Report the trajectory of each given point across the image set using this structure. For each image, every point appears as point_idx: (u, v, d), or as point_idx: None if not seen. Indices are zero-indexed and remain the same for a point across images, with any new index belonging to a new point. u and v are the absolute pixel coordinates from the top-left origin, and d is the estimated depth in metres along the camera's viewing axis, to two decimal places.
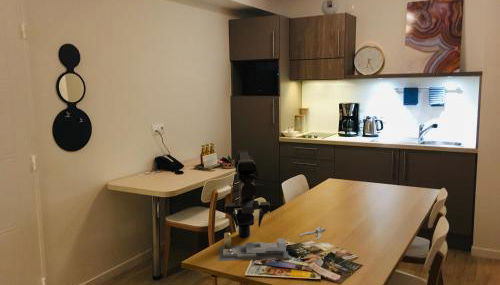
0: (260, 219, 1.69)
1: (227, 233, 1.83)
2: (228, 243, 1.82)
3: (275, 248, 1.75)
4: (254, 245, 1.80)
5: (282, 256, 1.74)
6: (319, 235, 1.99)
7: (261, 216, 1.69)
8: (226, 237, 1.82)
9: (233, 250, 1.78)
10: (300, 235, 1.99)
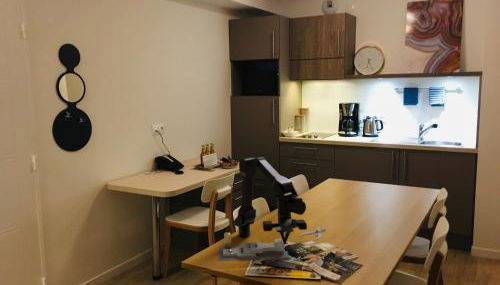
0: (286, 237, 1.76)
1: (227, 233, 1.83)
2: (228, 242, 1.82)
3: (272, 248, 1.75)
4: (251, 245, 1.79)
5: (282, 256, 1.74)
6: (319, 235, 1.99)
7: (287, 234, 1.76)
8: (226, 237, 1.82)
9: (233, 250, 1.78)
10: (300, 235, 1.99)
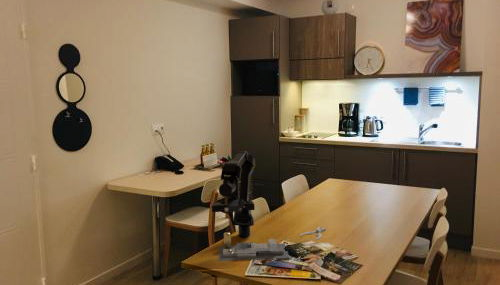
0: (235, 218, 1.80)
1: (226, 233, 1.83)
2: (228, 242, 1.82)
3: (266, 248, 1.75)
4: (245, 245, 1.79)
5: (282, 256, 1.74)
6: (319, 235, 1.99)
7: (236, 215, 1.80)
8: (225, 237, 1.82)
9: (233, 250, 1.78)
10: (300, 235, 2.00)
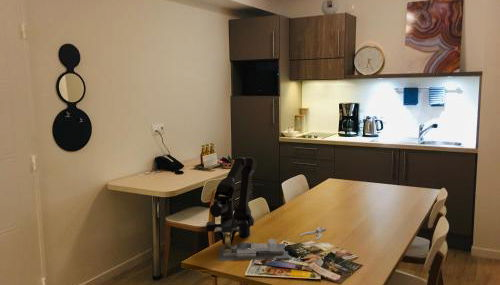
0: (232, 237, 1.82)
1: (227, 233, 1.83)
2: (229, 242, 1.82)
3: (266, 248, 1.75)
4: (245, 245, 1.79)
5: (282, 256, 1.74)
6: (319, 235, 1.99)
7: (233, 234, 1.82)
8: (226, 237, 1.82)
9: (233, 250, 1.78)
10: (300, 235, 2.00)
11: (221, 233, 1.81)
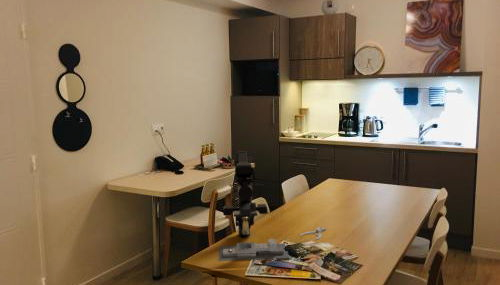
0: (250, 221, 1.75)
1: (245, 217, 1.75)
2: (247, 227, 1.75)
3: (266, 248, 1.75)
4: (245, 245, 1.79)
5: (282, 256, 1.74)
6: (319, 235, 1.99)
7: (251, 218, 1.74)
8: (244, 222, 1.74)
9: (233, 250, 1.78)
10: (301, 235, 2.00)
11: (239, 217, 1.73)
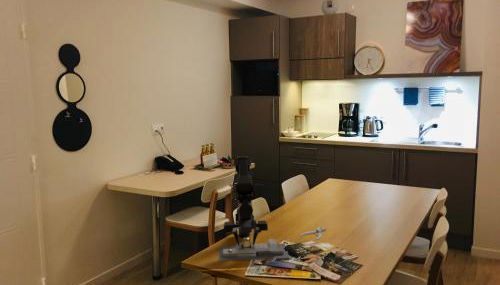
0: (254, 237, 1.76)
1: (246, 238, 1.77)
2: None
3: (266, 248, 1.75)
4: None
5: (282, 256, 1.74)
6: (320, 235, 1.99)
7: (255, 235, 1.75)
8: (245, 242, 1.75)
9: (233, 250, 1.78)
10: (301, 235, 2.00)
11: (236, 234, 1.74)
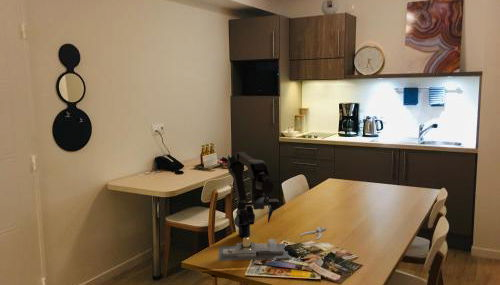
0: (269, 215, 1.83)
1: (246, 238, 1.77)
2: None
3: (266, 248, 1.75)
4: None
5: (282, 256, 1.74)
6: (320, 235, 1.99)
7: (270, 212, 1.82)
8: (245, 242, 1.76)
9: (233, 250, 1.78)
10: (301, 235, 2.00)
11: (245, 211, 1.81)
